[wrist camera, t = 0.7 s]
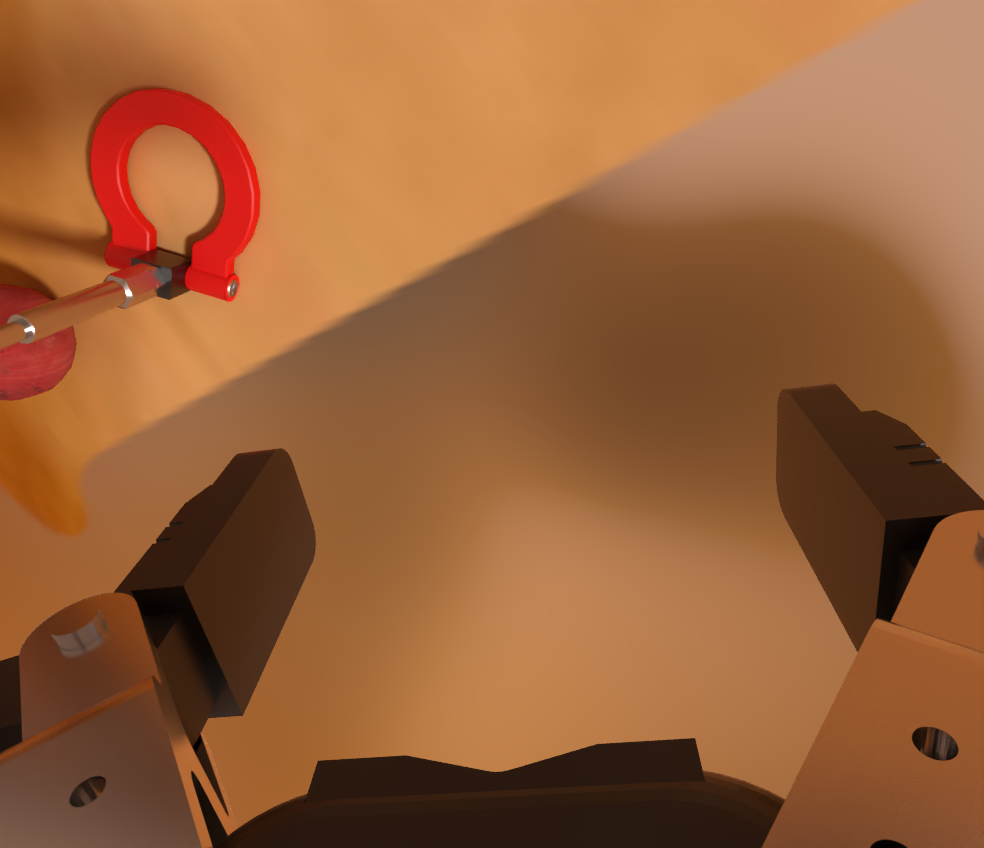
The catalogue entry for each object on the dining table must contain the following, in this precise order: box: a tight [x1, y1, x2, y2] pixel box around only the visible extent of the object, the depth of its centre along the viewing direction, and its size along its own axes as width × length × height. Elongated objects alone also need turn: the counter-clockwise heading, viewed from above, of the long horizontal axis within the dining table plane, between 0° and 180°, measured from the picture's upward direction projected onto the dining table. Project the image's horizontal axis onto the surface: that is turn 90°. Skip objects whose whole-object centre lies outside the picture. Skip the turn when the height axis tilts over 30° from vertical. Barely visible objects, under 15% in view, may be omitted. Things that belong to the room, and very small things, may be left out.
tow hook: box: [0, 89, 260, 349], centre depth 29 cm, size 8×13×9 cm
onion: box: [0, 284, 77, 401], centre depth 36 cm, size 6×6×8 cm
